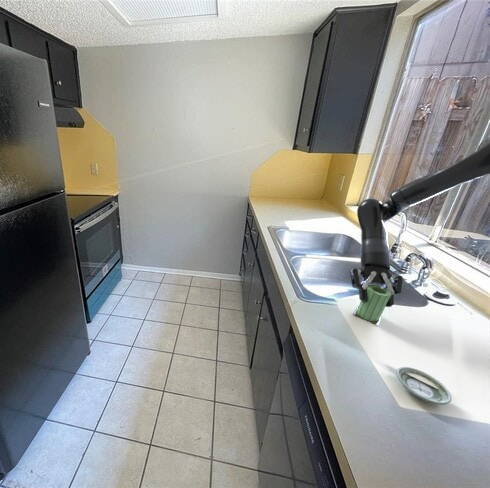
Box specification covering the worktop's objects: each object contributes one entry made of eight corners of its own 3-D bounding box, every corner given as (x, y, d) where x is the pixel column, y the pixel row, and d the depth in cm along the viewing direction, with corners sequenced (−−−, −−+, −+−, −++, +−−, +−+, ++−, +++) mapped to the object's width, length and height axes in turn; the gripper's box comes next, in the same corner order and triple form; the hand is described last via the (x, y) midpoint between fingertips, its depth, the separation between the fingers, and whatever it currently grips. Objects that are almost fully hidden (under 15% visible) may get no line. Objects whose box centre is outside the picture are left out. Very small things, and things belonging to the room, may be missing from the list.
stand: (380, 319, 85) (393, 292, 81) (376, 329, 80) (390, 301, 76) (355, 309, 89) (366, 283, 85) (350, 318, 85) (362, 291, 80)
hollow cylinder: (379, 315, 84) (392, 290, 80) (377, 324, 80) (390, 298, 76) (358, 307, 88) (369, 282, 84) (354, 315, 84) (365, 289, 80)
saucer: (435, 382, 64) (439, 375, 63) (455, 418, 56) (461, 411, 55) (387, 367, 67) (391, 360, 66) (400, 398, 59) (404, 391, 58)
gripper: (355, 247, 84) (356, 297, 79) (407, 254, 81) (412, 307, 75) (345, 254, 91) (344, 301, 86) (392, 261, 88) (395, 311, 82)
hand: (376, 304), depth 80 cm, fingers closed on hollow cylinder, 6 cm apart
